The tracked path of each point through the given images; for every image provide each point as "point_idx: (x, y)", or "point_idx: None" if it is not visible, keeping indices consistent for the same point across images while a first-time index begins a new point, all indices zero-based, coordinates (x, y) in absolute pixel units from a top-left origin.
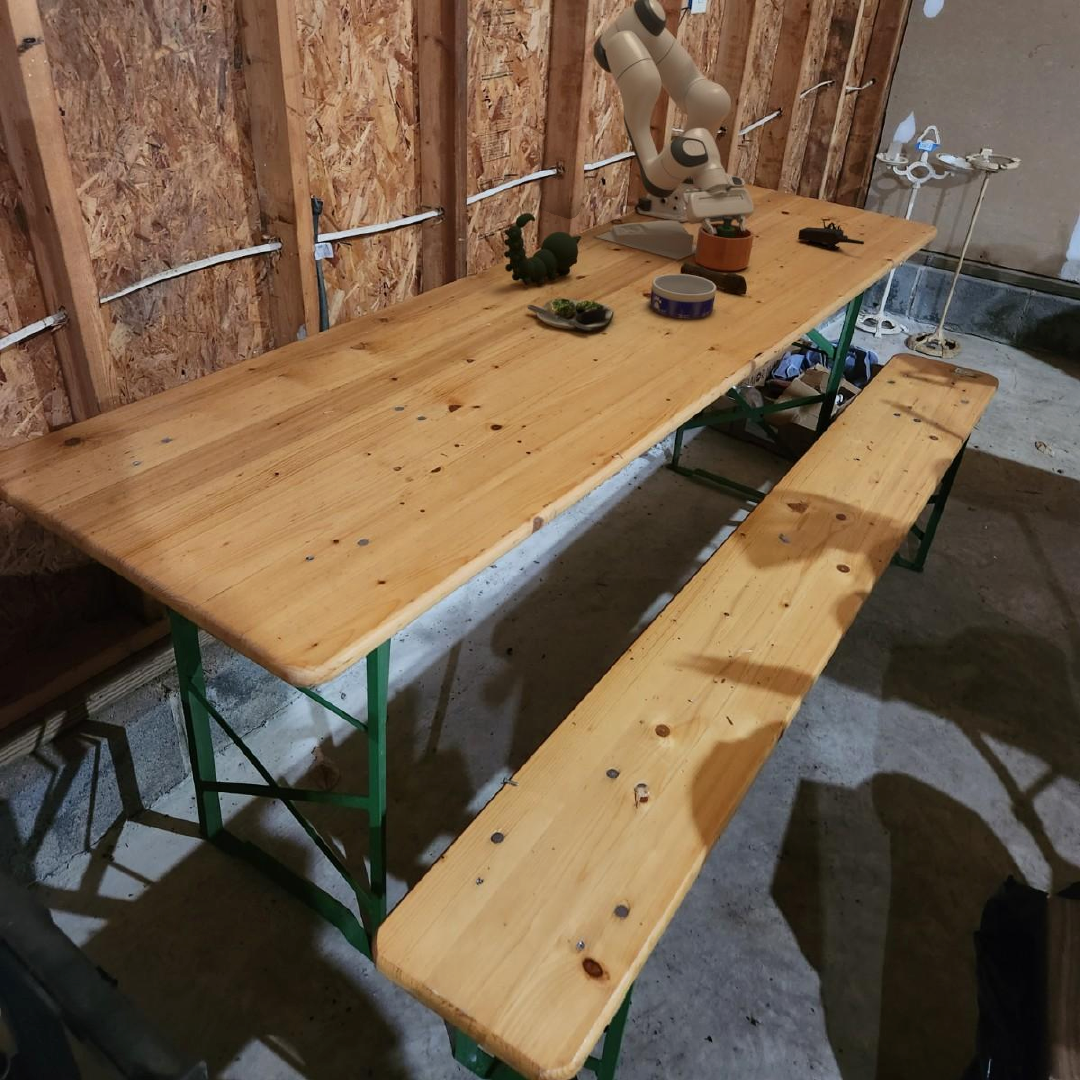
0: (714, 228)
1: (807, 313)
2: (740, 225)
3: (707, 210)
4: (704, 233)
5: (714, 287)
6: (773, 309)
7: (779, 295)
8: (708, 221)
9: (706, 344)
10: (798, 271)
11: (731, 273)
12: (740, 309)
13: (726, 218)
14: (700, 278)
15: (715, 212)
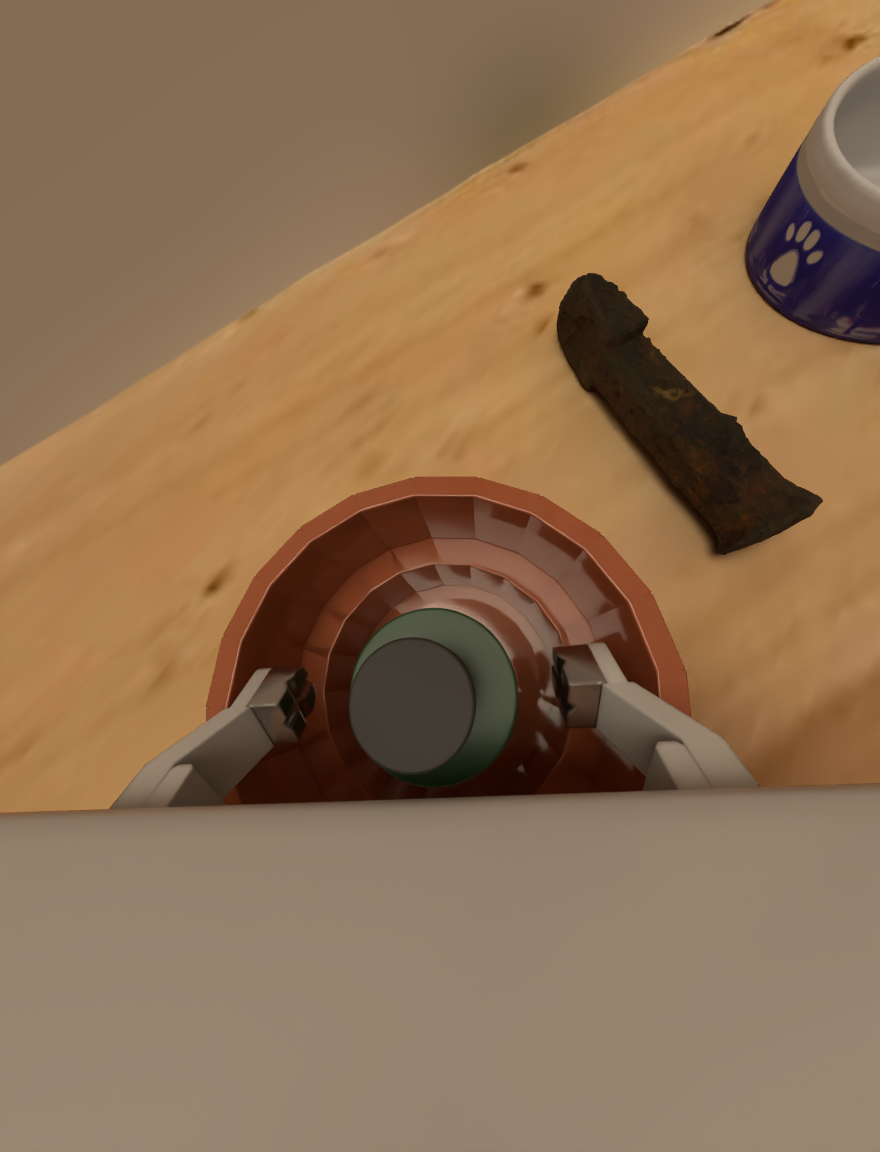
0: (583, 677)
1: (436, 217)
2: (269, 703)
3: (818, 926)
4: (683, 668)
5: (843, 92)
6: (520, 241)
7: (427, 332)
8: (684, 746)
9: (860, 60)
10: (193, 525)
11: (615, 321)
12: (633, 244)
13: (459, 665)
14: (871, 186)
15: (595, 849)
